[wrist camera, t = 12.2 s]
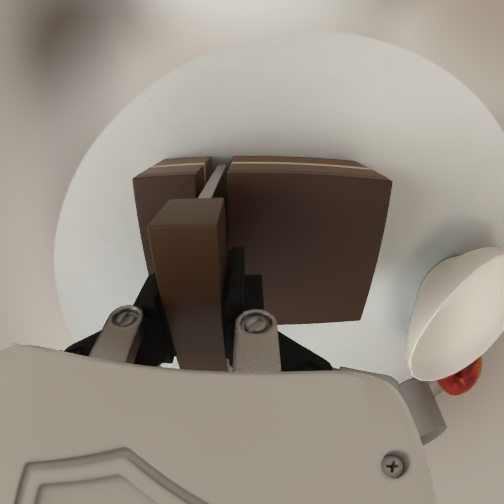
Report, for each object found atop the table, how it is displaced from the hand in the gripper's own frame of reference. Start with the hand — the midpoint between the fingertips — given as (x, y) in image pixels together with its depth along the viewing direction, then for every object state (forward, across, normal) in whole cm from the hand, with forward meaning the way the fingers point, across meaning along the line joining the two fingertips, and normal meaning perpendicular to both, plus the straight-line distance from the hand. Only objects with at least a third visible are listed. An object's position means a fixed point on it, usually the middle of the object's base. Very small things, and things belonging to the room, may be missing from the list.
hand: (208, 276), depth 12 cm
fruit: (+9, -31, +20) cm, 38 cm away
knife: (+8, 0, 0) cm, 8 cm away
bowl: (+9, -23, +8) cm, 26 cm away
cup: (+9, -27, +30) cm, 42 cm away
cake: (+9, -5, +1) cm, 10 cm away
